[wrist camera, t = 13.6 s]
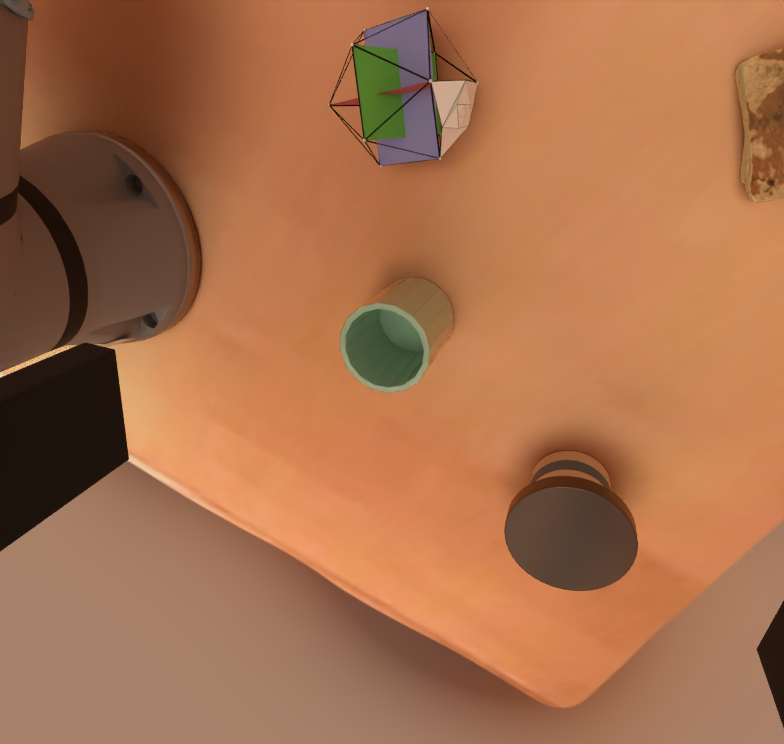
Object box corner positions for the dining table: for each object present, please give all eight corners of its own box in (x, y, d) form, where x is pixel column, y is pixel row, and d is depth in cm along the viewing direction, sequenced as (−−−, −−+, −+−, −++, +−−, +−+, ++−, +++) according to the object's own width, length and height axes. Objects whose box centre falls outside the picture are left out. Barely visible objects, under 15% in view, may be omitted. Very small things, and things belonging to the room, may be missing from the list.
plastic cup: (375, 346, 38) (338, 382, 32) (380, 271, 36) (341, 296, 30) (449, 360, 37) (424, 400, 31) (458, 283, 35) (433, 312, 29)
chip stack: (525, 504, 39) (518, 548, 35) (538, 442, 37) (532, 481, 33) (601, 523, 38) (603, 571, 34) (619, 460, 36) (623, 503, 32)
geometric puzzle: (328, 174, 32) (366, 170, 25) (308, 42, 30) (343, -4, 23) (439, 159, 34) (504, 152, 27) (429, 33, 32) (497, -11, 25)
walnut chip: (498, 558, 36) (495, 571, 35) (517, 462, 33) (514, 473, 32) (619, 591, 34) (620, 606, 33) (651, 493, 31) (653, 505, 30)
